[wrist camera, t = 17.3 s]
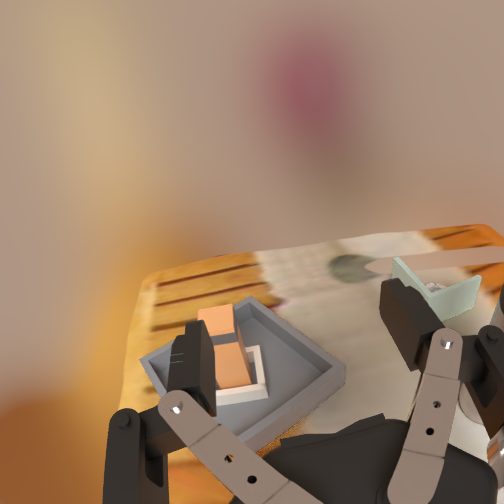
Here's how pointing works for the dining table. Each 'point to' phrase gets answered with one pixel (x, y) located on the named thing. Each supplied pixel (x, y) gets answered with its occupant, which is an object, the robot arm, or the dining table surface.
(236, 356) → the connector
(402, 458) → the robot arm
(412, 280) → the l-shaped corner panel
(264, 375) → the walled box
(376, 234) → the dining table surface
